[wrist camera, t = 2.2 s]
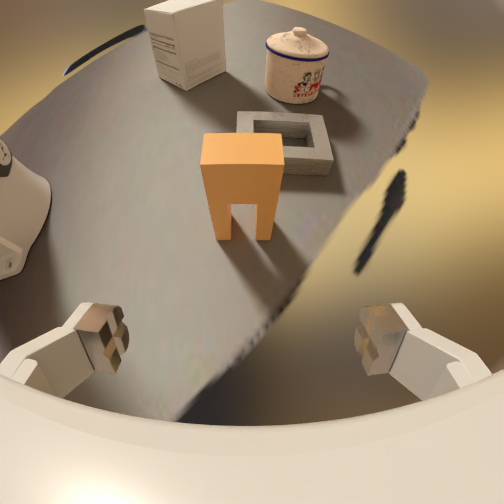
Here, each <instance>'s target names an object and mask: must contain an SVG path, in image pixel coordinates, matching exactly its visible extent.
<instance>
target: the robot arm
mask: <svg viewBox="0 0 504 504" xmlns="http://www.w3.org/2000/svg"><path fill="white" fill-rule="evenodd" d="M50 200H51V191H50V186H49V183H48V182H47V180H46V179H45V178H43V177H41V176H39V175H37V174H35V173H33V172H32V171H30V170H29V169H27V168H26V167H25V166H24V165H22V164H21V163H20V162H19V161H18V160H17V159H15V158H14V157H13V156H12V153H11V152H10V150H9V149H8V147H7V146H6V144H5V143H4V142H3V140H2V139H1V138H0V280H2V279H5V278H7V277H10V276H13V275H16V274H18V273H20V272H21V270H22V269H23V266H24V264H25V261H26V257H27V254H28V251H29V249H30V247H31V245H32V244H33V242H34V241H35V239H36V237H37V236H38V234H39V232H40V230H41V228H42V226H43V224H44V222H45V219H46V217H47V214H48V210H49V206H50ZM123 317H124V315H123V312H122V308H121V307H119V306H116V305H107V304H98V303H87V302H84V303H81V304H80V305H79V306H78V308H77V309H76V310H75V311H74V312H73V314H72V315H71V316H70V317H69V319H68V320H67V321H66V322H65V324H64V325H63V326H62V327H57V328H55V329H53V330H51V331H49V332H47V333H45V334H43V335H41V336H39V337H37V338H35V339H33V340H31V341H29V342H27V343H25V344H23V345H21V346H19V347H17V348H15V349H14V350H12V351H10V352H9V354H8V355H7V356H6V357H5V359H4V360H3V361H2V363H1V364H0V504H504V369H503V370H501V371H499V372H497V373H495V374H493V375H492V374H491V372H490V371H489V369H488V368H487V367H486V366H485V364H484V363H483V361H482V360H481V359H480V357H479V356H478V355H477V354H476V353H474V352H472V351H470V350H468V349H466V348H464V347H462V346H460V345H458V344H456V343H454V342H452V341H450V340H448V339H446V338H444V337H442V336H441V335H439V334H437V333H435V332H433V331H431V330H429V329H426V328H425V329H422V327H421V326H420V325H419V323H418V322H417V321H416V319H415V318H414V317H413V316H412V314H411V313H410V312H409V310H408V309H407V308H406V307H405V305H404V304H402V303H394V304H388V305H379V306H378V305H377V306H366V307H363V308H362V309H361V311H360V315H359V318H360V320H361V323H360V324H359V325H358V326H357V327H356V330H355V335H354V343H355V348H356V350H357V353H358V354H360V355H361V356H363V360H362V364H363V366H364V369H365V371H366V373H367V375H375V374H382V373H389V372H390V373H389V374H390V375H392V376H393V377H394V378H395V379H397V380H398V381H399V382H400V383H402V384H403V385H404V386H405V387H407V388H408V389H409V390H410V391H411V392H413V393H414V394H415V395H416V396H418V397H419V398H420V399H421V400H422V401H421V402H417V403H414V404H411V405H406V406H403V407H399V408H395V409H391V410H386V411H383V412H378V413H373V414H368V415H363V416H357V417H351V418H345V419H339V420H332V421H324V422H315V423H306V424H293V425H278V426H213V425H199V424H186V423H177V422H169V421H161V420H154V419H147V418H141V417H135V416H130V415H125V414H120V413H115V412H111V411H106V410H102V409H98V408H94V407H90V406H86V405H83V404H79V403H76V402H72V401H69V400H66V399H63V397H65V396H66V395H67V394H68V393H70V392H71V391H72V390H73V389H75V388H76V387H77V386H78V385H79V384H81V383H82V382H83V381H84V380H86V379H87V378H88V377H89V376H91V375H92V374H93V373H94V372H95V371H98V372H105V373H111V374H116V372H117V369H118V367H119V365H120V363H121V358H120V355H122V354H123V353H125V352H126V350H127V348H128V344H129V332H128V328H127V326H126V325H125V324H124V323H123V322H122V319H123Z"/></svg>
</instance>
